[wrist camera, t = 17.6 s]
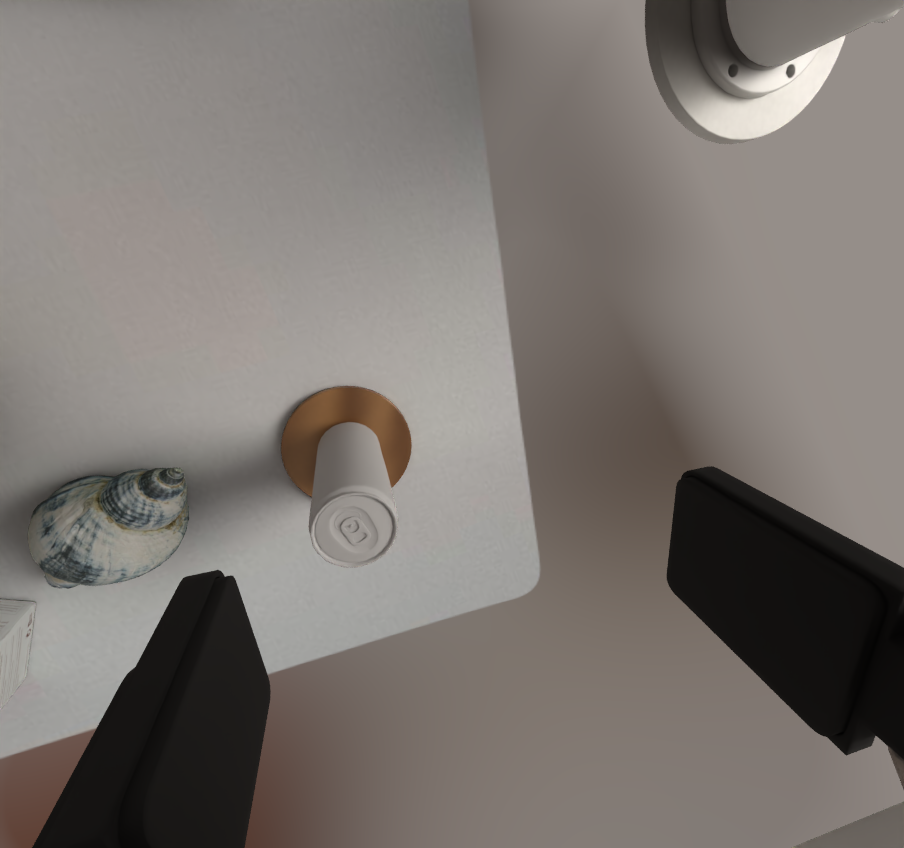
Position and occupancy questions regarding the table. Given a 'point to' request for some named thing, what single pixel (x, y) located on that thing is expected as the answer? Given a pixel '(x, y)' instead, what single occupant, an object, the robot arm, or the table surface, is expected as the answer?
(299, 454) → the copper pad
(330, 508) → the beverage can
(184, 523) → the seashell
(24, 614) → the white packaging box
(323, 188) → the table surface
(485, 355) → the table surface
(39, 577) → the table surface
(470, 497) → the table surface
